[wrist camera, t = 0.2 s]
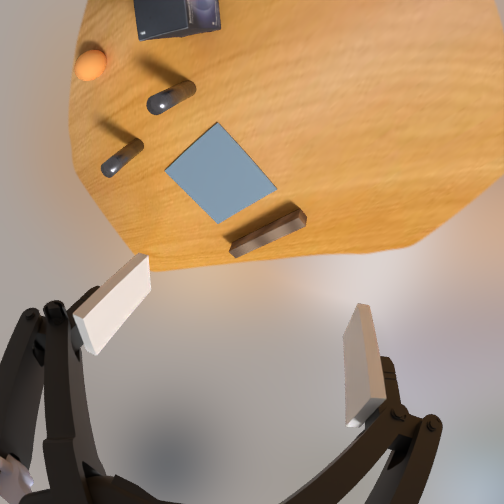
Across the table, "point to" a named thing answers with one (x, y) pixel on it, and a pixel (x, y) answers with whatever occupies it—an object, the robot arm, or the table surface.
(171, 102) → the post
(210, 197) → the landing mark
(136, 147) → the post
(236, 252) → the stopper wall
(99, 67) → the ball
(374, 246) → the table surface
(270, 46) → the table surface
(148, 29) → the small box
